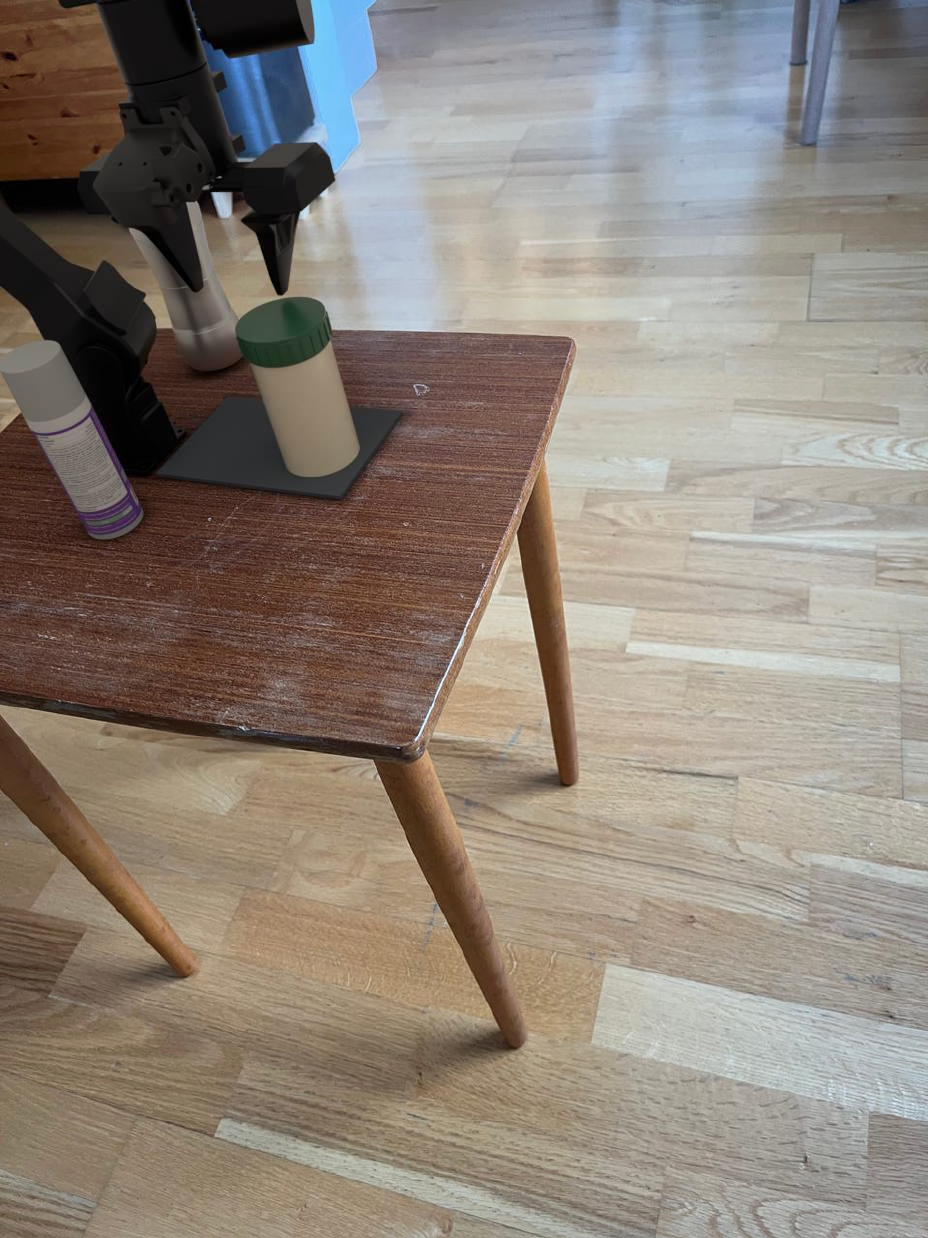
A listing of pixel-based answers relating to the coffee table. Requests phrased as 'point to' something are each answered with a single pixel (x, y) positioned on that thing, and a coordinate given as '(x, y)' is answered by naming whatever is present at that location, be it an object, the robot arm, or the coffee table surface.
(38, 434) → the container
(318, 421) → the jar
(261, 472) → the mat
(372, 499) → the coffee table surface
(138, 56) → the robot arm
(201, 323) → the silver metal bottle
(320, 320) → the jar lid
